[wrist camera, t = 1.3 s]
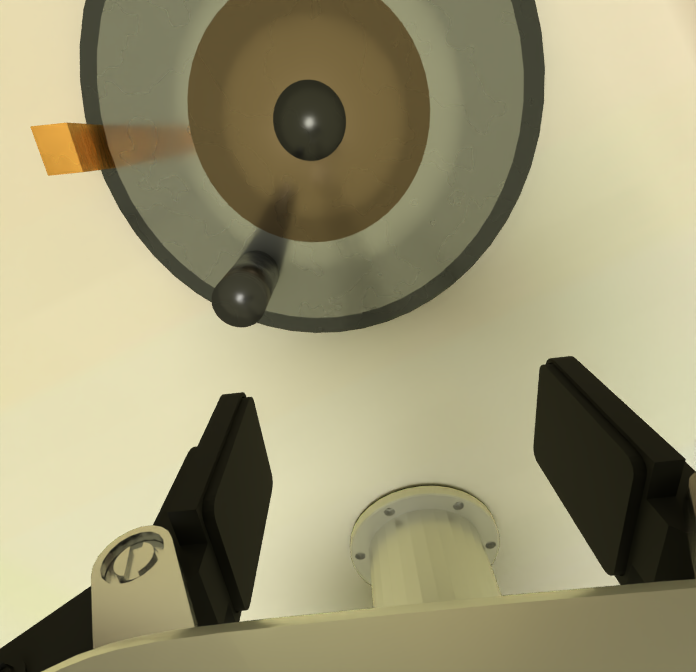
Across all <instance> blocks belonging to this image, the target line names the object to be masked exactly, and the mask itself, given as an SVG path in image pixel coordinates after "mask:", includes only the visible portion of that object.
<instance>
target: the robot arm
mask: <svg viewBox="0 0 696 672" xmlns="http://www.w3.org/2000/svg"><path fill="white" fill-rule="evenodd" d="M534 455H535V458H536V461H537V463H538V464H539V466H540V467H541V469H542V471H543V472H544V474H545V476H546V477H547V479H548V480H549V482H550V484H551V485H552V487H553V488H554V490H555V492H556V493H557V495H558V496H559V498H560V500H561V501H562V503H563V505H564V506H565V508H566V509H567V511H568V513H569V514H570V516H571V517H572V519H573V521H574V522H575V524H576V526H577V527H578V529H579V530H580V532H581V534H582V535H583V537H584V538H585V540H586V542H587V543H588V545H589V547H590V548H591V550H592V551H593V553H594V555H595V556H596V558H597V559H598V561H599V563H600V564H601V566H602V568H603V569H604V570H605V572H606V573H607V574H608V575H611V576H612V575H615V577H616V578H617V580H618V582H619V583H620V585H617V586H606V587H594V588H583V589H572V590H560V591H549V592H538V593H527V594H516V595H506V596H502V595H501V593H500V590H499V587H498V584H497V581H496V579H495V576H494V573H493V570H492V567H491V565H492V563H493V562H494V560H495V558H496V556H497V553H498V549H499V532H498V529H497V526H496V523H495V521H494V519H493V517H492V514H491V513H490V511H489V510H488V509H487V508H486V506H485V505H484V504H483V503H481V502H480V501H479V500H478V499H476V498H475V497H473V496H471V495H469V494H467V493H465V492H463V491H460V490H456V489H453V488H448V487H441V486H419V487H413V488H407V489H403V490H400V491H397V492H394V493H391V494H389V495H387V496H385V497H383V498H381V499H379V500H378V501H377V502H375V503H374V504H372V505H371V506H370V507H369V508H368V509H367V510H366V511H365V512H364V513H363V514H362V515H361V516H360V517H359V519H358V521H357V522H356V524H355V525H354V528H353V531H352V534H351V544H350V548H351V559H352V562H353V565H354V568H355V569H356V571H357V572H358V574H359V575H360V576H361V577H362V578H363V579H364V580H365V581H366V582H367V583H368V584H370V585H371V586H372V598H373V608H369V609H359V610H349V611H339V612H329V613H319V614H309V615H299V616H289V617H279V618H269V619H260V620H251V621H243V622H239V621H240V616H241V611H244V610H248V609H249V606H250V602H251V597H252V592H253V587H254V582H255V576H256V571H257V566H258V561H259V555H260V550H261V545H262V540H263V535H264V529H265V524H266V519H267V514H268V509H269V503H270V498H271V493H272V486H273V481H272V473H271V469H270V465H269V461H268V457H267V453H266V449H265V445H264V440H263V436H262V432H261V428H260V424H259V420H258V416H257V412H256V408H255V403H254V400H253V398H252V397H246V395H245V393H243V392H242V393H233V394H224V395H222V396H221V397H220V399H219V401H218V403H217V406H216V408H215V410H214V412H213V414H212V416H211V418H210V421H209V423H208V425H207V427H206V429H205V431H204V434H203V436H202V438H201V440H200V442H199V444H198V446H197V447H193V448H191V449H190V451H189V452H188V454H187V456H186V458H185V460H184V462H183V464H182V466H181V468H180V471H179V473H178V475H177V477H176V479H175V481H174V483H173V485H172V487H171V489H170V491H169V493H168V495H167V497H166V499H165V501H164V504H163V506H162V508H161V510H160V512H159V514H158V516H157V518H156V520H155V522H154V524H153V525H151V526H143V527H139V528H136V529H133V530H131V531H128V532H127V533H125V534H123V535H121V536H120V537H118V538H117V539H115V540H114V541H113V542H112V543H110V544H109V545H108V546H107V547H106V548H105V549H104V550H103V551H102V553H101V554H100V555H99V556H98V558H97V560H96V562H95V563H94V565H93V568H92V574H91V586H90V587H89V588H87V589H86V590H85V591H83V592H82V593H80V594H79V595H77V596H76V597H74V598H73V599H71V600H70V601H69V602H67V603H66V604H64V605H63V606H61V607H60V608H58V609H57V610H56V611H54V612H53V613H51V614H50V615H48V616H47V617H45V618H44V619H43V620H41V621H40V622H38V623H37V624H35V625H34V626H32V627H31V628H30V629H28V630H27V631H25V632H24V633H22V634H21V635H19V636H18V637H16V638H15V639H14V640H12V641H11V642H9V643H8V644H6V645H5V646H3V647H2V648H1V649H0V672H696V471H695V470H693V469H692V468H691V467H690V466H689V465H688V464H687V463H686V462H685V460H686V459H685V458H684V457H683V456H682V455H681V454H679V453H678V452H677V451H676V450H675V449H674V448H673V447H672V446H671V445H670V444H668V443H667V442H666V441H665V440H664V439H663V438H662V437H661V436H660V435H659V434H658V433H656V432H655V431H654V430H653V429H652V428H651V427H650V426H649V425H648V424H647V423H646V422H644V421H643V420H642V419H641V418H640V417H639V416H638V415H637V414H636V413H635V412H634V411H632V410H631V409H630V408H629V407H628V406H627V405H626V404H625V403H624V402H623V401H621V400H620V399H619V398H618V397H617V396H616V395H615V394H614V393H613V392H612V391H611V390H609V389H608V388H607V387H606V386H605V385H604V384H603V383H602V382H601V381H600V380H599V379H597V378H596V377H595V376H594V375H593V374H592V373H591V372H590V371H589V370H588V369H587V368H585V367H584V366H583V365H582V364H581V363H580V362H579V361H578V360H577V359H576V358H574V357H573V356H568V357H559V358H550V359H548V360H547V362H546V365H541V367H540V370H539V382H538V395H537V408H536V421H535V434H534Z"/></svg>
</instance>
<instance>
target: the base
mask: <svg viewBox="0 0 696 672" xmlns="http://www.w3.org/2000/svg"><path fill="white" fill-rule="evenodd" d="M511 2H512V5H513V9H514V14H515V18H516V22H517V27H518V31H519V35H520V41H521V51H522V60H523V69H524V93H523V110H522V118H521V126H520V133H519V138H518V142H517V146H516V150H515V154H514V158H513V162H512V165H511V168H510V170H509V173H508V176H507V179H506V181H505V184H504V187H503V189H502V191H501V193H500V195H499V197H498V199H497V201H496V203H495V205H494V207H493V209H492V211H491V213H490V215H489V216H488V218H487V219H486V221H485V222H484V224H483V225H482V227H481V228H480V230H479V232H478V233H477V235H476V236H475V237H474V238H473V240H472V241H471V242H470V243H469V244H468V246H467V247H466V248H465V249H464V250H463V252H462V253H461V254H460V255H459V256H458V257H457V258H456V259H455V260H454V261H453V262H452V263H451V264H450V265H449V266H448V267H446V268H445V269H444V270H443V271H442V272H441V273H440V274H438V275H437V276H436V277H434V278H433V279H432V280H430V281H429V282H428V283H426V284H425V285H424V286H422V287H421V288H419V289H417V290H415V291H414V292H412V293H410V294H408V295H407V296H405V297H403V298H401V299H399V300H397V301H394V302H392V303H389V304H387V305H385V306H382V307H380V308H376V309H373V310H369V311H366V312H362V313H359V314H353V315H347V316H340V317H327V318H308V317H296V316H288V315H283V314H278V313H274V312H269V311H265V312H264V314H263V316H262V318H261V319H260V320H259V321H258V322H257V323H260V324H263V325H266V326H270V327H275V328H280V329H285V330H290V331H301V332H313V333H321V332H342V331H348V330H354V329H361V328H366V327H369V326H373V325H376V324H380V323H383V322H387V321H389V320H392V319H394V318H397V317H399V316H401V315H404V314H406V313H409V312H411V311H412V310H414V309H416V308H418V307H420V306H421V305H423V304H425V303H427V302H428V301H430V300H432V299H433V298H435V297H436V296H437V295H439V294H440V293H442V292H443V291H444V290H446V289H447V288H448V287H450V286H451V285H452V284H454V283H455V282H456V281H457V280H458V279H459V278H460V277H461V276H462V275H463V274H464V273H465V272H467V271H468V270H469V269H470V268H471V267H472V266H473V265H474V264H475V262H476V261H477V260H478V259H479V258H480V257H481V255H482V254H483V253H484V252H485V251H486V250H487V248H488V247H489V246H490V245H491V243H492V242H493V240H494V239H495V237H496V236H497V234H498V233H499V231H500V230H501V229H502V227H503V226H504V224H505V223H506V221H507V219H508V217H509V215H510V213H511V211H512V209H513V208H514V206H515V204H516V202H517V200H518V198H519V196H520V194H521V191H522V189H523V186H524V183H525V181H526V178H527V175H528V173H529V170H530V168H531V165H532V161H533V157H534V153H535V149H536V145H537V141H538V137H539V133H540V125H541V118H542V111H543V104H544V75H545V65H544V54H543V43H542V32H541V27H540V23H539V18H538V13H537V9H536V4H535V0H511ZM104 4H105V0H86V1H85V6H84V10H83V20H82V29H81V39H80V83H81V90H82V98H83V105H84V113H85V118H86V122H87V124H79V123H60V124H50V125H41V126H32V127H31V130H32V132H33V135H34V138H35V141H36V143H37V146H38V149H39V152H40V155H41V157H42V160H43V163H44V166H45V168H46V171H47V174H48V176H49V175H59V174H68V173H78V172H87V171H95V170H101V171H102V174H103V176H104V179H105V181H106V183H107V185H108V187H109V189H110V191H111V193H112V195H113V197H114V199H115V201H116V203H117V205H118V207H119V209H120V210H121V212H122V213H123V215H124V216H125V218H126V219H127V221H128V223H129V224H130V226H131V227H132V229H133V230H134V232H135V233H136V235H137V236H138V237H139V238H140V239H141V241H142V242H143V243H144V244H145V245H146V247H147V248H148V249H149V250H150V252H151V253H152V254H153V255H154V256H155V257H156V258H157V259H158V260H159V261H160V262H161V263H162V264H163V265H164V266H165V267H166V268H167V269H168V270H169V271H170V272H171V273H172V274H173V275H174V276H175V277H176V278H178V279H179V280H180V281H182V282H183V283H184V284H185V285H187V286H188V287H189V288H191V289H192V290H193V291H194V292H196V293H197V294H199V295H200V296H202V297H204V298H205V299H207V300H209V301H210V302H212V293H213V290H214V287H212V286H211V285H209V284H208V283H206V282H204V281H203V280H201V279H200V278H199V277H198V276H196V275H195V274H194V273H193V272H191V271H190V270H189V269H188V268H186V267H185V266H184V265H183V264H182V263H180V262H179V261H178V260H177V259H176V258H175V257H174V256H173V255H172V254H171V253H170V252H169V251H168V250H167V249H166V248H165V247H164V246H163V244H162V243H161V242H160V241H159V239H158V238H157V237H156V236H155V234H154V233H153V232H152V231H151V229H150V228H149V227H148V226H147V224H146V223H145V221H144V220H143V218H142V217H141V215H140V213H139V212H138V210H137V209H136V207H135V206H134V204H133V202H132V201H131V199H130V197H129V195H128V193H127V191H126V189H125V187H124V185H123V183H122V181H121V179H120V176H119V174H118V172H117V169H116V166H115V163H114V161H113V158H112V155H111V152H110V150H109V147H108V143H107V139H106V135H105V130H104V126H103V122H102V118H101V112H100V103H99V95H98V87H97V47H98V39H99V30H100V22H101V16H102V12H103V8H104Z"/></svg>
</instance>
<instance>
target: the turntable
mask: <svg viewBox="0 0 696 672" xmlns="http://www.w3.org/2000/svg"><path fill="white" fill-rule="evenodd" d="M97 87H98V95H99V103H100V112H101V118H102V122H103V126H104V130H105V135H106V139H107V143H108V147H109V150H110V152H111V155H112V158H113V161H114V163H115V166H116V169H117V172H118V174H119V176H120V179H121V181H122V183H123V185H124V187H125V189H126V191H127V193H128V195H129V197H130V199H131V201H132V202H133V204H134V206H135V207H136V209H137V210H138V212H139V213H140V215H141V217H142V218H143V220H144V221H145V223H146V224H147V226H148V227H149V228H150V229H151V231H152V232H153V233H154V234H155V236H156V237H157V238H158V239H159V241H160V242H161V243H162V244H163V246H164V247H165V248H166V249H167V250H168V251H169V252H170V253H171V254H172V255H173V256H174V257H175V258H176V259H177V260H178V261H179V262H180V263H182V264H183V265H184V266H185V267H186V268H188V269H189V270H190V271H191V272H193V273H194V274H195V275H196V276H198V277H199V278H200V279H201V280H203V281H204V282H206V283H208V284H209V285H211V286H212V287H214V290H213V293H212V306H213V309H214V311H215V313H216V314H217V316H218V317H219V318H220V319H221V320H222V321H224V322H225V323H227V324H229V325H231V326H235V327H248V326H251V325H253V324H255V323H257V322H258V321H259V320H260V319H261V318H262V316H263V314H264V312H265V311H269V312H274V313H278V314H283V315H288V316H296V317H308V318H327V317H340V316H347V315H353V314H359V313H362V312H366V311H369V310H373V309H376V308H380V307H382V306H385V305H387V304H389V303H392V302H394V301H397V300H399V299H401V298H403V297H405V296H407V295H408V294H410V293H412V292H414V291H415V290H417V289H419V288H421V287H422V286H424V285H425V284H426V283H428V282H429V281H430V280H432V279H433V278H434V277H436V276H437V275H438V274H440V273H441V272H442V271H443V270H444V269H445V268H446V267H448V266H449V265H450V264H451V263H452V262H453V261H454V260H455V259H456V258H457V257H458V256H459V255H460V254H461V253H462V252H463V250H464V249H465V248H466V247H467V246H468V244H469V243H470V242H471V241H472V240H473V238H474V237H475V236H476V235H477V233H478V232H479V230H480V228H481V227H482V225H483V224H484V222H485V221H486V219H487V218H488V216H489V215H490V213H491V211H492V209H493V207H494V205H495V203H496V201H497V199H498V197H499V195H500V193H501V191H502V189H503V187H504V184H505V181H506V179H507V176H508V173H509V170H510V168H511V165H512V162H513V158H514V154H515V150H516V146H517V142H518V138H519V133H520V126H521V118H522V110H523V93H524V69H523V60H522V51H521V41H520V35H519V31H518V27H517V22H516V18H515V14H514V9H513V5H512V2H511V0H105V4H104V8H103V12H102V16H101V22H100V30H99V39H98V47H97Z"/></svg>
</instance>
